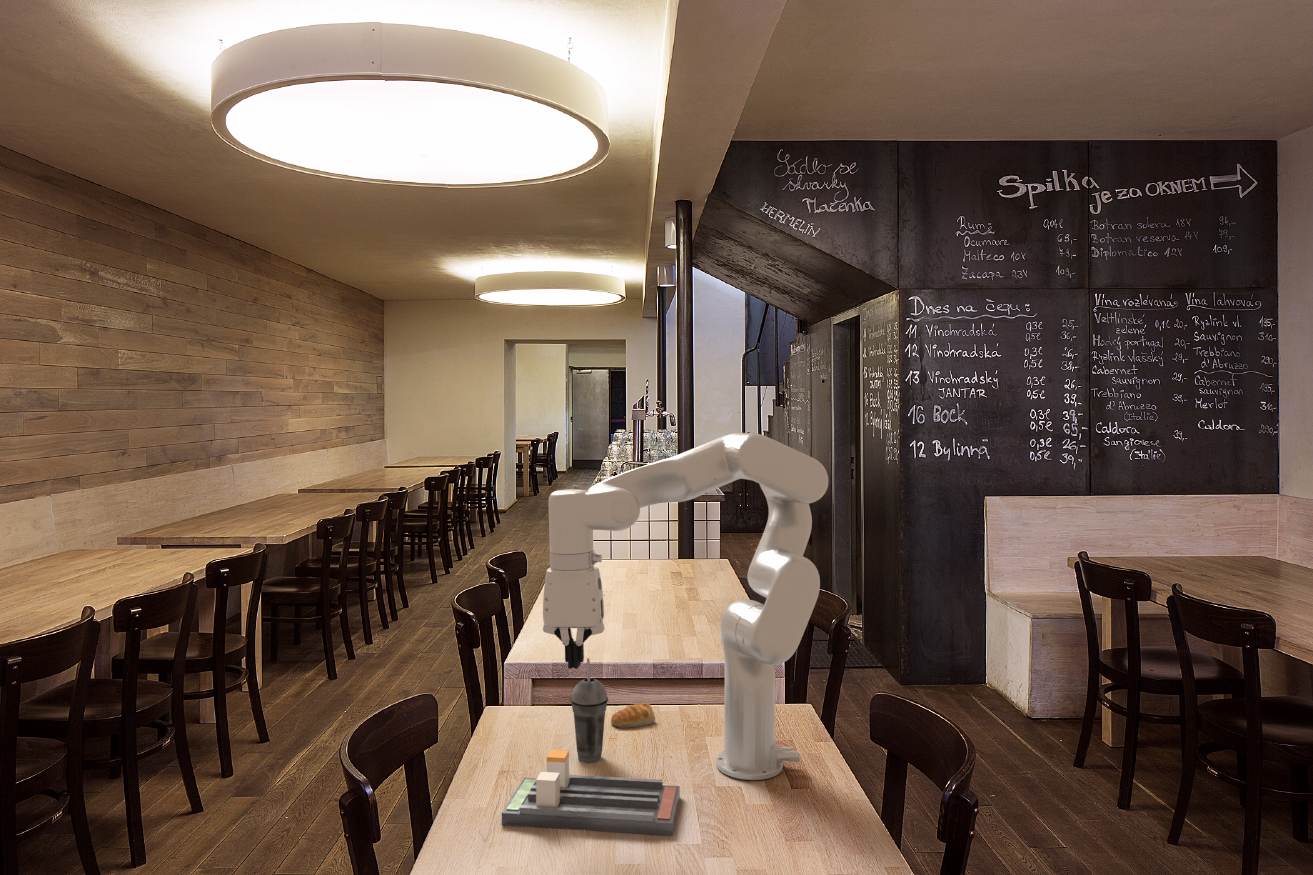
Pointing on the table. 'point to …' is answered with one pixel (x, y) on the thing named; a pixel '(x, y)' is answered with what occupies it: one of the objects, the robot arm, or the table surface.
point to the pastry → (634, 716)
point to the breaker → (548, 789)
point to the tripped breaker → (559, 765)
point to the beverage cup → (589, 717)
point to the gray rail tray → (599, 806)
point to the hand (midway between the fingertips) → (574, 665)
